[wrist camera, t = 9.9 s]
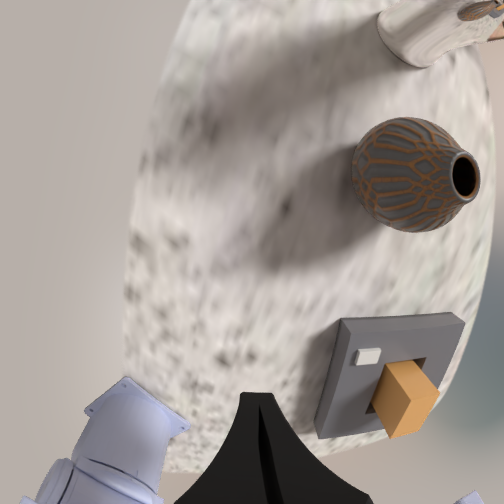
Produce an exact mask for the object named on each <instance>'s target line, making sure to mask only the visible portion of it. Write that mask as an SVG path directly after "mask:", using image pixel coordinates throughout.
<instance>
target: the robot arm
mask: <svg viewBox="0 0 504 504" xmlns="http://www.w3.org/2000/svg"><path fill="white" fill-rule="evenodd" d="M124 384H125V385H124ZM84 412H85V414H87V415H88V416H89V417H90V419H89V421H88V423H87V425H86V427H85V429H84V430H83V432H82V434H81V436H80V438H79V440H78V442H77V444H76V446H75V448H74V450H73V453H72V458H71V460H72V461H71V460H70V459H68V458H64V459H58V460H56V461H55V463H54V464H53V466H52V467H51V469H50V470H49V472H48V474H47V475H46V477H45V479H44V481H43V483H42V485H41V487H40V489H39V491H38V493H37V496H36V499H35V501H33V500H32V499H30V498H29V497H27V496H23V497H22V499H21V502H20V504H163V503H164V499H163V498H161V497H159V496H157V492H158V487H159V482H160V477H161V473H162V469H163V464H164V460H165V455H166V451H167V446H168V442H169V439H170V438H172V437H174V436H176V435H178V434H180V433H182V432H184V431H186V430H188V429H190V427H191V424H190V423H189V422H188V421H186V420H185V419H183V418H182V417H180V416H179V415H177V414H176V413H175V412H173V411H172V410H170V409H169V408H168V407H166V406H165V405H163V404H162V403H161V402H159V401H158V400H157V399H155V398H154V397H153V396H151V395H150V394H149V393H148V392H146V391H145V390H144V389H143V388H141V387H140V386H139V385H138V384H136V383H135V382H134V381H133V380H131V379H130V378H128V377H124V378H122V379H121V380H120V381H119V382H117V383H116V384H115V385H114V386H113V387H111V388H110V389H109V390H107V391H106V392H105V393H104V394H102V395H101V396H100V397H99V398H97V399H96V400H95V401H94V402H93V403H91V404H90V405H89V406H87V407H86V408H85V410H84ZM174 504H373V501H372V500H371V498H370V496H369V495H368V494H366V493H364V492H362V491H360V490H358V489H357V488H355V487H353V486H351V485H350V484H348V483H347V482H345V481H344V480H343V479H341V478H340V477H338V476H337V475H336V474H334V473H333V472H332V471H331V470H329V469H328V468H327V467H326V466H324V465H323V464H322V463H321V462H320V461H319V460H318V459H317V458H316V457H315V456H314V455H313V454H312V453H311V452H310V451H309V450H308V448H307V447H306V446H305V445H304V444H303V443H302V441H301V440H300V439H299V437H298V436H297V435H296V433H295V432H294V431H293V429H292V428H291V426H290V425H289V423H288V422H287V420H286V418H285V417H284V415H283V413H282V411H281V410H280V408H279V406H278V404H277V402H276V400H275V397H274V395H273V394H272V393H254V392H242V393H241V394H240V401H239V406H238V410H237V413H236V416H235V419H234V421H233V424H232V427H231V429H230V431H229V433H228V435H227V437H226V439H225V441H224V443H223V445H222V447H221V448H220V450H219V452H218V453H217V455H216V456H215V458H214V459H213V461H212V462H211V463H210V465H209V466H208V468H207V469H206V470H205V472H204V473H203V474H202V475H201V476H200V477H199V479H198V480H197V481H196V482H195V483H194V484H193V485H192V486H191V487H190V488H189V490H187V491H186V492H185V493H184V494H183V495H182V496H181V497H180V498H179V499H178V500H176V501H175V503H174ZM454 504H484V503H483V501H482V500H481V498H480V496H479V495H478V493H477V491H476V490H474V491H473V492H471V493H469V494H468V495H466V496H464V497H463V498H461V499H460V500H458V501H456V502H455V503H454Z"/></svg>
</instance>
